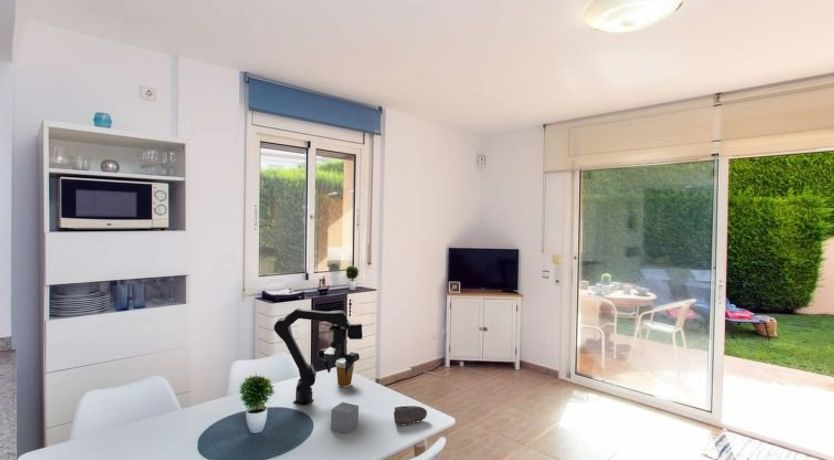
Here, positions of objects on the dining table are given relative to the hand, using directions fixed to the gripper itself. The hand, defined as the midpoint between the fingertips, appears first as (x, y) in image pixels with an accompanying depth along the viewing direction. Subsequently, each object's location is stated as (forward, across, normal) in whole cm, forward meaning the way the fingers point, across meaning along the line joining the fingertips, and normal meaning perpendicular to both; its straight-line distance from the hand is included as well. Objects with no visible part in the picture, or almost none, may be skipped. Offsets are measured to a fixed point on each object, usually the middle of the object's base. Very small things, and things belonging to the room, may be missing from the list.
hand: (337, 374), depth 191 cm
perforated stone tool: (+12, +38, -5) cm, 40 cm away
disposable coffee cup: (+12, -8, +18) cm, 23 cm away
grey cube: (+12, +17, -20) cm, 29 cm away
